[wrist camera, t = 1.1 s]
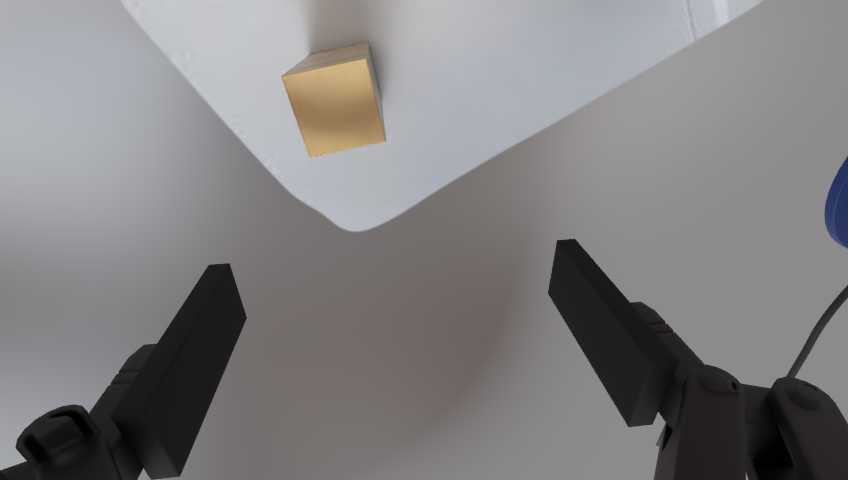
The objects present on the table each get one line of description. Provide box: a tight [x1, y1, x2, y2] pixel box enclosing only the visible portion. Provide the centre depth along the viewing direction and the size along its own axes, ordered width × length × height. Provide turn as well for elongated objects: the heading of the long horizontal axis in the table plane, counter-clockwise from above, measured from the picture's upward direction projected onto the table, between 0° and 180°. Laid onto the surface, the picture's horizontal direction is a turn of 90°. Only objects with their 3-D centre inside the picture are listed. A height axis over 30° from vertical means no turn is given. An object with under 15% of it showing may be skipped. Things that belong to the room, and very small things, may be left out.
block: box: [282, 42, 386, 158], centre depth 29 cm, size 5×5×12 cm
